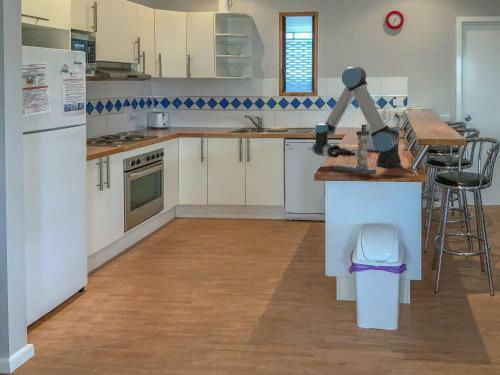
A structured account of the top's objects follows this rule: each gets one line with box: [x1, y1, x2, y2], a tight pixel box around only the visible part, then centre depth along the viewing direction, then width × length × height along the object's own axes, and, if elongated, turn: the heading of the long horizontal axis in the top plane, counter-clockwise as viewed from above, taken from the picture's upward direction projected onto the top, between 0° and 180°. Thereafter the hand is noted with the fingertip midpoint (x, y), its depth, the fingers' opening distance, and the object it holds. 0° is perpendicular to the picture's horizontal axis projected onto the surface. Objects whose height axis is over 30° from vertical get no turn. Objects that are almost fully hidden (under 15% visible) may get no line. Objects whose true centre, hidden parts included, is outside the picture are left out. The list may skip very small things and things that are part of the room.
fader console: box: [333, 164, 377, 175], centre depth 419 cm, size 26×9×2 cm, turn 36°
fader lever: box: [355, 130, 369, 169], centre depth 412 cm, size 5×5×21 cm
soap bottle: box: [366, 124, 378, 152], centre depth 518 cm, size 9×9×25 cm
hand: (359, 154), depth 415 cm, fingers closed
